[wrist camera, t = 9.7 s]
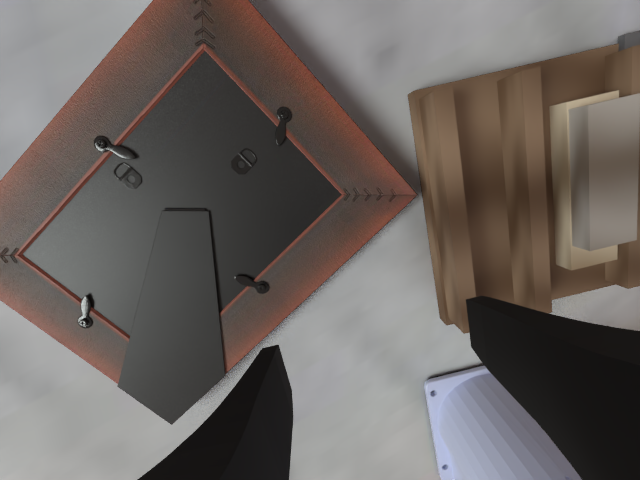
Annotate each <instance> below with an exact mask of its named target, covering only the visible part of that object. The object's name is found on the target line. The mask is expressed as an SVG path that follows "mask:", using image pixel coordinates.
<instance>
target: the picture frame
mask: <svg viewBox="0 0 640 480" xmlns="http://www.w3.org/2000/svg"><path fill="white" fill-rule="evenodd" d="M416 196H417V194H416V193H415V191H414V190H413V189H412V188H411V187H410V186H409V184H408V183H407V182H406V181H405V180H404V179H403V178H402V176H401V175H400V174H399V173H398V172H397V171H396V169H395V168H394V167H393V166H392V165H391V164H390V163H389V161H388V160H387V159H386V158H385V157H384V156H383V154H382V153H381V152H380V151H379V150H378V149H377V148H376V146H375V145H374V144H373V143H372V142H371V141H370V140H369V138H368V137H367V136H366V135H365V134H364V133H363V131H362V130H361V129H360V128H359V127H358V126H357V125H356V123H355V122H354V121H353V120H352V119H351V118H350V116H349V115H348V114H347V113H346V112H345V111H344V110H343V108H342V107H341V106H340V105H339V104H338V103H337V102H336V100H335V99H334V98H333V97H332V96H331V95H330V93H329V92H328V91H327V90H326V89H325V88H324V87H323V85H322V84H321V83H320V82H319V81H318V80H317V78H316V77H315V76H314V75H313V74H312V73H311V72H310V70H309V69H308V68H307V67H306V66H305V65H304V64H303V62H302V61H301V60H300V59H299V58H298V57H297V55H296V54H295V53H294V52H293V51H292V50H291V49H290V47H289V46H288V45H287V44H286V43H285V42H284V40H283V39H282V38H281V37H280V36H279V35H278V34H277V32H276V31H275V30H274V29H273V28H272V27H271V26H270V24H269V23H268V22H267V21H266V20H265V19H264V17H263V16H262V15H261V14H260V13H259V12H258V11H257V9H256V8H255V7H254V6H253V5H252V4H251V2H250V1H249V0H153V1H152V2H151V3H150V5H149V6H148V7H147V8H146V9H145V10H144V12H143V13H142V14H141V15H140V16H139V18H138V19H137V20H136V21H135V22H134V23H133V25H132V26H131V27H130V28H129V29H128V31H127V32H126V33H125V34H124V35H123V37H122V38H121V39H120V40H119V41H118V42H117V44H116V45H115V46H114V47H113V48H112V50H111V51H110V52H109V53H108V54H107V55H106V57H105V58H104V59H103V60H102V61H101V63H100V64H99V65H98V66H97V67H96V68H95V70H94V71H93V72H92V73H91V74H90V76H89V77H88V78H87V79H86V80H85V81H84V83H83V84H82V85H81V86H80V87H79V89H78V90H77V91H76V92H75V93H74V94H73V96H72V97H71V98H70V99H69V100H68V102H67V103H66V104H65V105H64V106H63V108H62V109H61V110H60V111H59V112H58V113H57V115H56V116H55V117H54V118H53V119H52V121H51V122H50V123H49V124H48V125H47V126H46V128H45V129H44V130H43V131H42V132H41V134H40V135H39V136H38V137H37V138H36V139H35V141H34V142H33V143H32V144H31V145H30V147H29V148H28V149H27V150H26V151H25V152H24V154H23V155H22V156H21V157H20V158H19V160H18V161H17V162H16V163H15V164H14V165H13V167H12V168H11V169H10V170H9V171H8V173H7V174H6V175H5V176H4V177H3V178H2V180H1V181H0V300H1V301H2V302H4V303H5V304H6V305H8V306H9V307H11V308H12V309H13V310H15V311H16V312H18V313H19V314H20V315H22V316H23V317H25V318H26V319H27V320H29V321H30V322H32V323H33V324H34V325H36V326H37V327H39V328H40V329H41V330H43V331H44V332H46V333H47V334H49V335H50V336H51V337H53V338H54V339H56V340H57V341H58V342H60V343H61V344H63V345H64V346H65V347H67V348H68V349H70V350H71V351H72V352H74V353H75V354H77V355H78V356H79V357H81V358H82V359H84V360H85V361H86V362H88V363H89V364H91V365H92V366H93V367H95V368H96V369H98V370H99V371H100V372H102V373H103V374H105V375H106V376H108V377H109V378H110V379H112V380H113V381H115V382H116V383H117V384H118V387H119V388H120V389H122V390H123V391H125V392H126V393H127V394H129V395H130V396H132V397H133V398H135V399H136V400H137V401H139V402H140V403H142V404H143V405H144V406H146V407H147V408H149V409H150V410H152V411H153V412H154V413H156V414H157V415H159V416H160V417H161V418H163V419H164V420H166V421H167V422H169V423H170V424H171V425H172V424H173V423H174V422H175V421H176V420H177V419H178V418H180V417H181V416H182V415H183V414H184V413H185V412H186V411H187V410H188V409H189V408H191V407H192V406H193V405H194V404H195V403H196V402H197V401H198V400H199V399H200V398H201V397H203V396H204V395H205V394H206V393H207V392H208V391H209V390H210V389H211V388H212V387H213V386H215V385H216V384H217V383H218V382H219V381H220V380H221V379H222V378H223V377H224V376H225V374H226V373H227V372H228V371H229V370H230V369H231V368H232V367H233V366H235V365H236V364H237V363H238V362H239V361H240V360H241V359H242V358H243V357H244V356H245V355H246V354H247V353H248V352H250V351H251V350H252V349H253V348H254V347H255V346H256V345H257V344H258V343H259V342H260V341H261V340H262V339H264V338H265V337H266V336H267V335H268V334H269V333H270V332H271V331H272V330H273V329H274V328H275V327H276V326H277V325H279V324H280V323H281V322H282V321H283V320H284V319H285V318H286V317H287V316H288V315H289V314H290V313H291V312H292V311H294V310H295V309H296V308H297V307H298V306H299V305H300V304H301V303H302V302H303V301H304V300H305V299H306V298H308V297H309V296H310V295H311V294H312V293H313V292H314V291H315V290H316V289H317V288H318V287H319V286H320V285H321V284H323V283H324V282H325V281H326V280H327V279H328V278H329V277H330V276H331V275H332V274H333V273H334V272H335V271H336V270H338V269H339V268H340V267H341V266H342V265H343V264H344V263H345V262H346V261H347V260H348V259H349V258H350V257H352V256H353V255H354V254H355V253H356V252H357V251H358V250H359V249H360V248H361V247H362V246H363V245H364V244H365V243H367V242H368V241H369V240H370V239H371V238H372V237H373V236H374V235H375V234H376V233H377V232H378V231H379V230H380V229H382V228H383V227H384V226H385V225H386V224H387V223H388V222H389V221H390V220H391V219H392V218H393V217H394V216H396V215H397V214H398V213H399V212H400V211H401V210H402V209H403V208H404V207H405V206H406V205H407V204H408V203H409V202H411V201H412V200H413V199H414V198H415V197H416Z"/></svg>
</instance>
